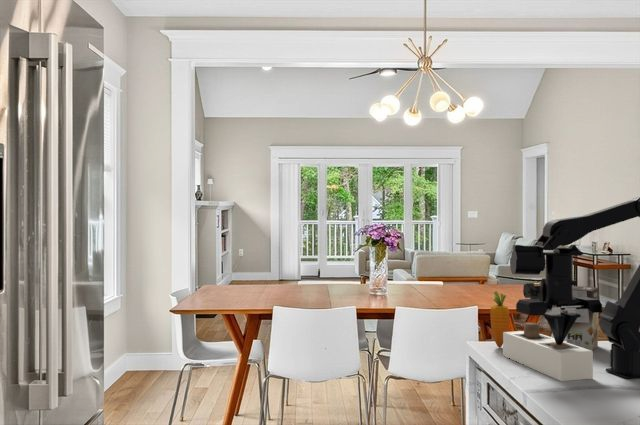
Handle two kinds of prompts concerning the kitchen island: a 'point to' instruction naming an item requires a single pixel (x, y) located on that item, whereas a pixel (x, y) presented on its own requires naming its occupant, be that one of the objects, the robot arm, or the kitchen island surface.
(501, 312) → the carrot
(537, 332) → the peg far
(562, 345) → the peg near
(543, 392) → the kitchen island surface
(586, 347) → the coffee box
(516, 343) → the white peg holder block
